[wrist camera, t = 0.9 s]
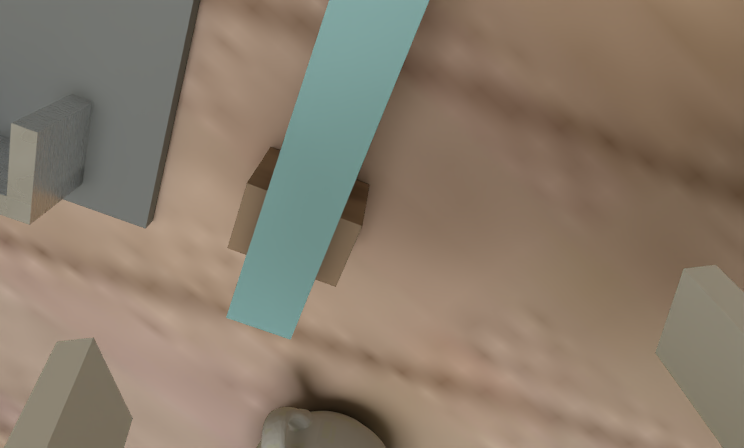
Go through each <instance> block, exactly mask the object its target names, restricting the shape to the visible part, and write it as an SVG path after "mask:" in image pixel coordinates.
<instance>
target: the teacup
mask: <svg viewBox="0 0 744 448" xmlns="http://www.w3.org/2000/svg"><path fill="white" fill-rule="evenodd" d="M257 448H386V447H385V445H384V444H383V442H382V441H381V440H380V438H379V437H378V436H377V435H376V434H374V433H373V432H372V431H371V430H370V429H368V428H367V427H365V426H364V425H363V424H361V423H360V422H358V421H357V420H355V419H353V418H351V417H349V416H347V415H344V414H341V413H337V412H332V411H312V412H310V411H308V410H306V409H297V408H293V407H282V408H278V409H275V410H273V411H272V412H271V413H270V414H269V415H268V416H267V418H266V420H265V422H264V425H263V430H262V439H261V441H260V443H259V444H258V446H257Z"/></svg>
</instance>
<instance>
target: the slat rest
mask: <svg viewBox="0 0 744 448" xmlns="http://www.w3.org/2000/svg"><path fill="white" fill-rule="evenodd" d="M279 154H280V150H277V149H275V148H272V147H270V149H269V150H268V152H267V153H266V155H265V156H264V158H263V160H262V161H261V163H260V164H259V166H258V167H257V169H256V170H255V172H254V173H253V175H252V176H251V178H250V179H249V181H248V182H247V185H246V188H245V192H244V195H243V198H242V202H241V205H240V208H239V211H238V215H237V218H236V221H235V225H234V228H233V231H232V235H231V238H230V241H229V245H228V248H229V249H231V250H234V251H237V252H240V253H243V254H245V255H247V252H248V249H249V246H250V243H251V240H252V237H253V234H254V231H255V227H256V224H257V221H258V218H259V215H260V212H261V209H262V206H263V203H264V200H265V197H266V194H267V190H268V187H269V184H270V181H271V178H272V175H273V172H274V169H275V166H276V163H277V160H278V157H279ZM368 191H369V184H366V183H364V182H361V181H358V180H356V181H355V183H354V185H353V188H352V190H351V193H350V195H349V198H348V200H347V203H346V205H345V207H344V210H343V212H342V215H341V217H340V220H339V222H338V225H337V227H336V229H335V232H334V234H333V237H332V239H331V242H330V244H329V247H328V249H327V251H326V254H325V256H324V259H323V261H322V264H321V266H320V268H319V271H318V273H317V276H316V278H315V280H318V281H321V282H324V283H327V284H329V285H332V286H335V287H336V285H337V283H338V281H339V278H340V276H341V274H342V271H343V269H344V267H345V264H346V262H347V260H348V258H349V255H350V253H351V251H352V248H353V246H354V244H355V242H356V239H357V237H358V235H359V232H360V230H361V228H362V225H363V219H364V213H365V208H366V202H367V196H368Z"/></svg>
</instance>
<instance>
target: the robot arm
mask: <svg viewBox="0 0 744 448" xmlns="http://www.w3.org/2000/svg"><path fill="white" fill-rule="evenodd" d="M655 353H656V354H657V356H658V357H659V358H660V360H661V361H662V363H663V364H664V365H665V367H666V368H667V370H668V371H669V372H670V374H671V375H672V377H673V378H674V379H675V381H676V382H677V384H678V385H679V387H680V388H681V389H682V391H683V392H684V394H685V395H686V396H687V398H688V399H689V401H690V402H691V403H692V405H693V406H694V408H695V409H696V410H697V412H698V413H699V415H700V416H701V417H702V419H703V420H704V422H705V423H706V424H707V426H708V427H709V429H710V430H711V431H712V433H713V434H714V436H715V437H716V438H717V440H718V441H719V443H720V444H721V446H722V447H723V448H744V292H743V291H742V290H741V289H740V288H739V287H738V286H737V285H736V284H735V283H734V282H733V281H732V280H731V279H730V278H729V277H728V276H727V275H726V274H725V273H724V272H723V271H722V270H721V269H720V268H719V267H718V266H717V265H710V266H702V267H693V268H684V269H683V272H682V275H681V278H680V281H679V284H678V287H677V290H676V293H675V296H674V299H673V302H672V305H671V308H670V311H669V314H668V317H667V320H666V323H665V326H664V329H663V332H662V335H661V338H660V341H659V344H658V347H657V349H656V352H655ZM132 419H133V418H132V416H131V414H130V412H129V410H128V408H127V406H126V404H125V402H124V399H123V397H122V395H121V393H120V391H119V389H118V387H117V385H116V383H115V381H114V379H113V377H112V375H111V373H110V370H109V368H108V366H107V364H106V362H105V360H104V358H103V356H102V354H101V352H100V350H99V348H98V346H97V344H96V341H95V339H94V338H85V339H77V340H68V341H60V342H57V343H56V345H55V347H54V349H53V351H52V353H51V355H50V357H49V359H48V361H47V363H46V365H45V367H44V369H43V371H42V373H41V375H40V377H39V379H38V381H37V383H36V385H35V387H34V389H33V391H32V393H31V395H30V397H29V399H28V401H27V403H26V405H25V407H24V409H23V411H22V413H21V415H20V417H19V419H18V421H17V423H16V425H15V427H14V429H13V431H12V433H11V435H10V437H9V439H8V441H7V443H6V445H5V447H4V448H124V446H125V442H126V439H127V435H128V432H129V429H130V425H131V422H132Z"/></svg>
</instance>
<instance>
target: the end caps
mask: <svg viewBox="0 0 744 448" xmlns="http://www.w3.org/2000/svg"><path fill="white" fill-rule="evenodd" d="M93 104H94V102H92V101H90V100H87V99H84V98H82V97H79V96H76V95H74V94H70V95H68V96H66V97H64V98H62V99H60V100H58V101H55V102H53V103H51V104H49V105H47V106H45V107H43V108H41V109H39V110H37V111H35V112H33V113H31V114H29V115H27V116H25V117H23V118H21V119H18V120H16V121H14V122H12V123H11V135H10V139H9V138H6V137H4V136H1V135H0V215H3V216H6V217H9V218H12V219H14V220H17V221H20V222H23V223H26V224H29V225H30V224H31V223H33V222H34V221H35V220H36V219H38V218H39V217H40V216H42V215H43V214H44V213H45V212H47V211H48V210H49V209H51V208H52V207H53V206H55V205H56V204H57V203H58V202H60V201H61V200H62V199H64V198H65V197H66V196H67V195H69V194H70V193H71V192H73V191H74V190H75V189H76V188H78V187H79V186H80V185H82V184H83V177H84V170H85V163H86V155H87V148H88V141H89V133H90V126H91V119H92V111H93Z"/></svg>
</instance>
